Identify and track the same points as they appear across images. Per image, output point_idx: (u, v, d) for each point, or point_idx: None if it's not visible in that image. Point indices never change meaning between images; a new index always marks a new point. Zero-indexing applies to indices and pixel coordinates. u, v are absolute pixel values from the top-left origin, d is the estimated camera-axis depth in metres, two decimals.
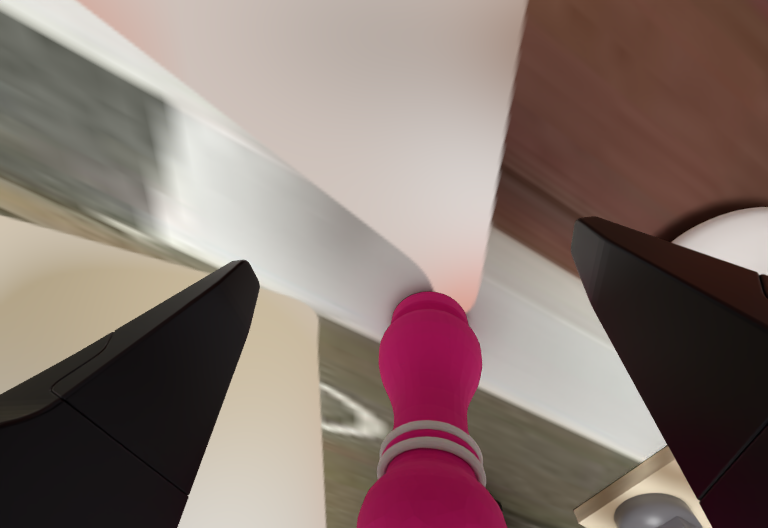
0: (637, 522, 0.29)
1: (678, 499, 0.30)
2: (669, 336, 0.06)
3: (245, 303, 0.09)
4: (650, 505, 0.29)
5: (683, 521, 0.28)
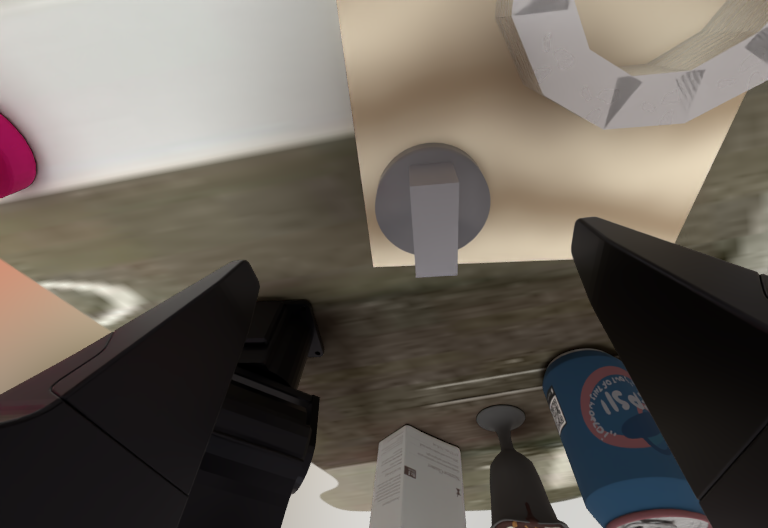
0: (382, 214, 0.19)
1: (422, 145, 0.18)
2: (670, 336, 0.06)
3: (245, 303, 0.09)
4: (381, 180, 0.18)
5: (415, 167, 0.17)
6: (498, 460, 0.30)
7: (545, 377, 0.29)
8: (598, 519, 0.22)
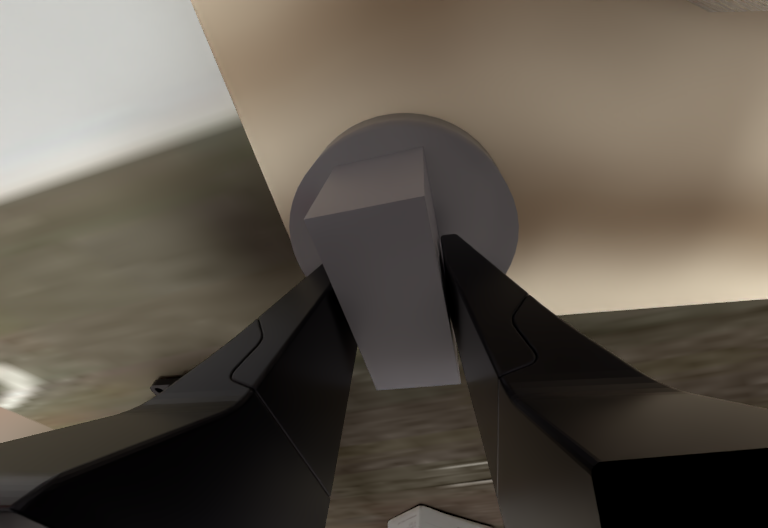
0: (311, 262, 0.10)
1: (364, 122, 0.09)
2: (468, 349, 0.06)
3: None
4: None
5: (345, 168, 0.08)
6: None
7: None
8: None
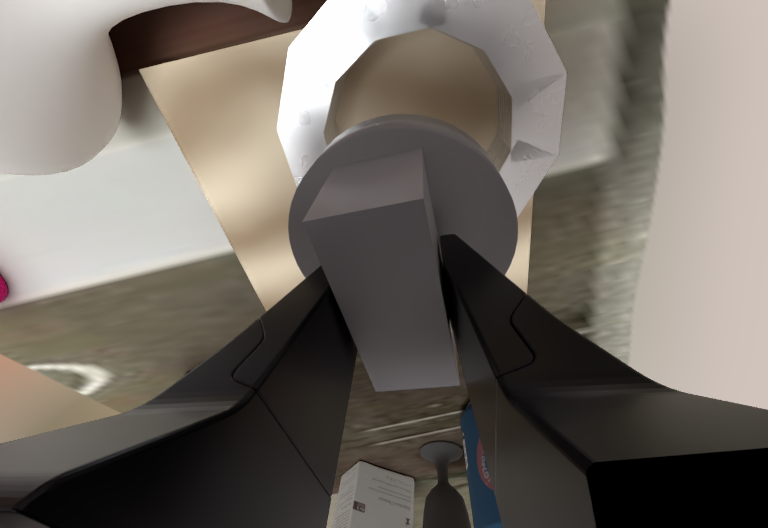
0: (310, 264, 0.10)
1: (363, 122, 0.09)
2: (466, 349, 0.06)
3: None
4: None
5: (344, 169, 0.08)
6: (430, 495, 0.34)
7: None
8: None
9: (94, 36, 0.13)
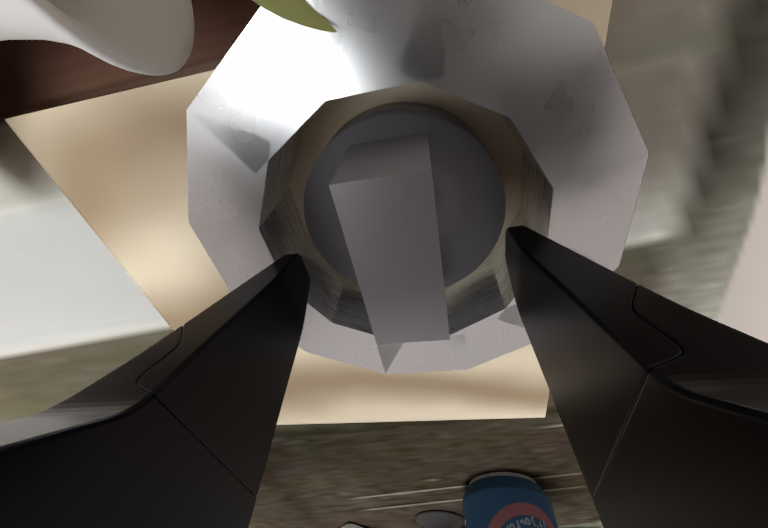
0: (321, 232, 0.11)
1: (376, 108, 0.10)
2: (564, 343, 0.06)
3: (300, 298, 0.09)
4: None
5: (359, 147, 0.09)
6: None
7: None
8: None
9: None
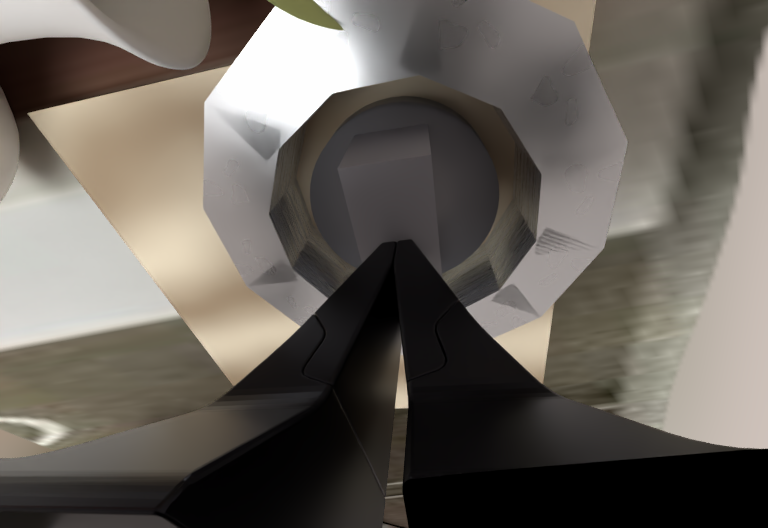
0: (325, 218, 0.12)
1: (379, 101, 0.11)
2: None
3: None
4: None
5: (363, 136, 0.10)
6: None
7: None
8: None
9: None
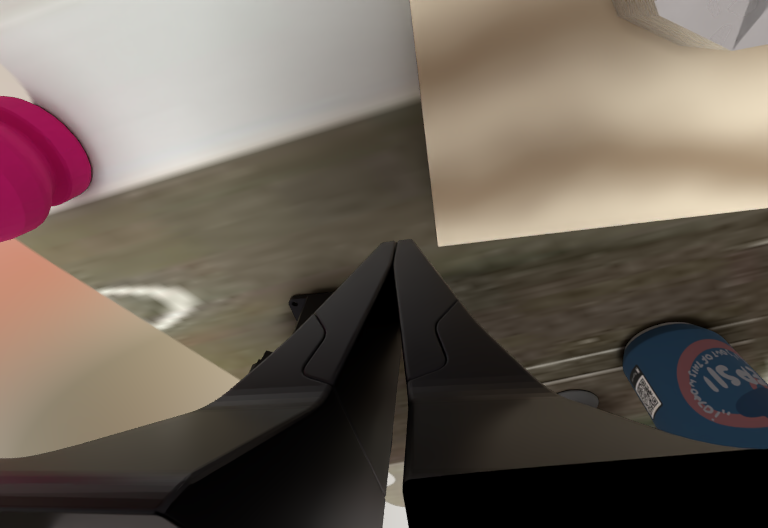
0: None
1: None
2: None
3: None
4: None
5: None
6: None
7: (626, 356, 0.26)
8: None
9: None
